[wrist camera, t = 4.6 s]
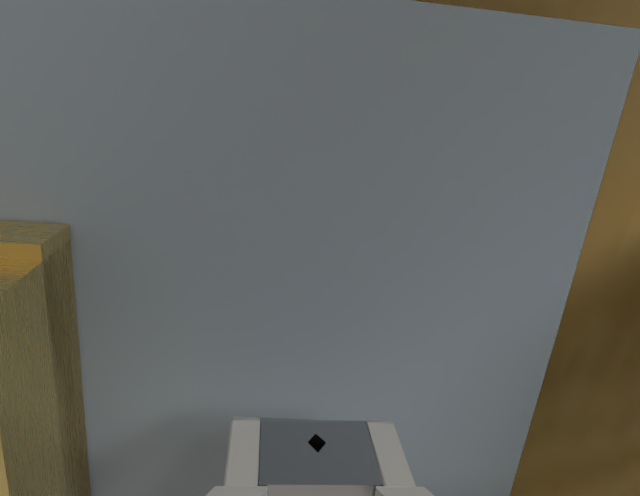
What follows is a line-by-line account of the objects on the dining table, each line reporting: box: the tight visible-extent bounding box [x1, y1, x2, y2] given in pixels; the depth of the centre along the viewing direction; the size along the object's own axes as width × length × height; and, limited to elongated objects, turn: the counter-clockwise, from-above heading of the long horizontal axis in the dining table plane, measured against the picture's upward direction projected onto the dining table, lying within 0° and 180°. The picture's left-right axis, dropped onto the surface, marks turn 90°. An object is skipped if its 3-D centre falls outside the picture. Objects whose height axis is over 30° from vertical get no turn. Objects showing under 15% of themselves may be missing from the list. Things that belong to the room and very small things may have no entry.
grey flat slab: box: [0, 0, 640, 496], centre depth 11 cm, size 22×16×2 cm
